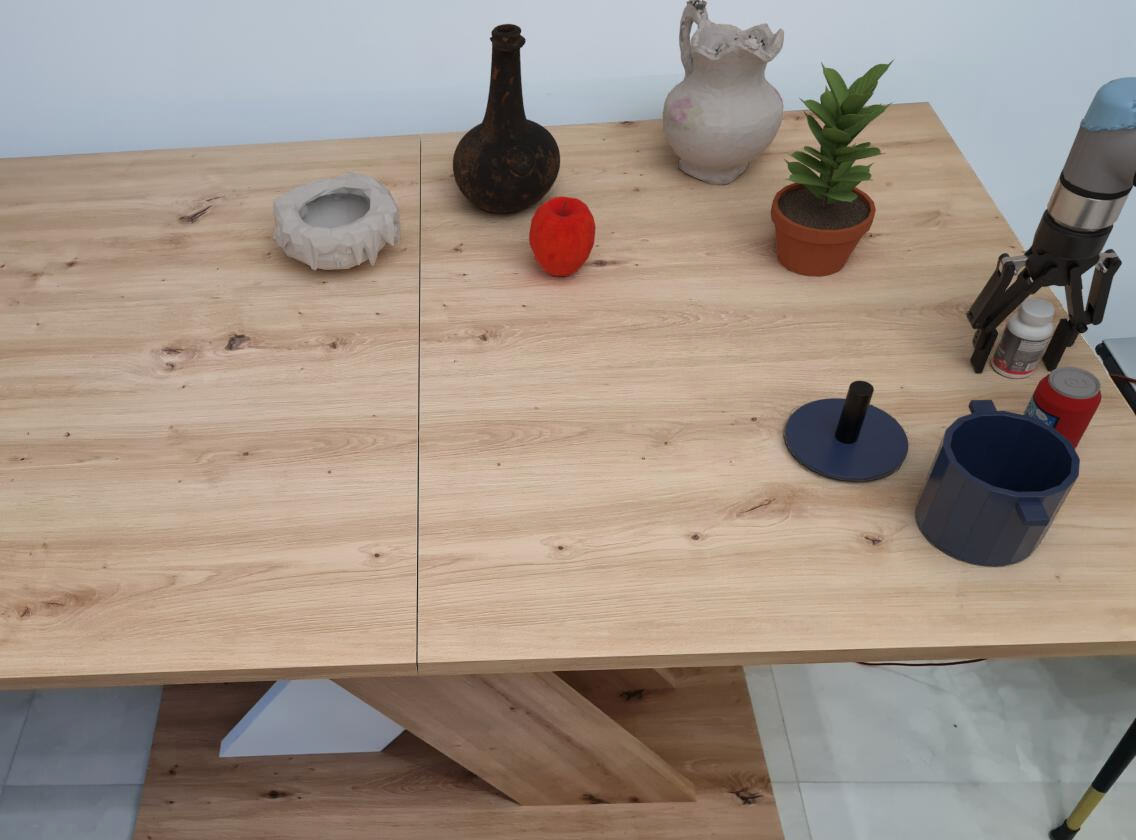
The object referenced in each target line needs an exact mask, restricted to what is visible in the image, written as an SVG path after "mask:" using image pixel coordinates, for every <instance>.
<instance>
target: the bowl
mask: <svg viewBox="0 0 1136 840" xmlns="http://www.w3.org/2000/svg"><path fill="white" fill-rule="evenodd" d="M395 201H396V200H395V199H394V197H393V195H392V193H391V191H390V189H389V188H387V187H386V186H385V185H384V184H382V183H381V182H380V181H379V180H378V179H376V178H375V177H374V176H373V177H372V176H371V175H366V174H362V173H357V172H348V171H347V172H344V173H341V174H339V175H337V176H336V177H327V178H320V179H314V180H312V181H309V182H306V183H304V184H301V185H297V186H295V187H292V188H291V189H290V190H289V191H288V192H286V193H283V194H282V195H279V196H277V197H276V198H274V199H273V204H272V205H273V206H272V213H273V218H274V223H275V228H274V230H273V235H272V239H273V240H275V242H276V246H277V247H279V248H281V250H282V251H283V253H284V254H285V255H286V257H287V258H290V259H295V260H297V261H299V262H301V263H303V264H305V265H308V266H310V268H311V270H313V271H317V269H319V270H324V271H327V270H348V269H351V268H353V267H355V266H360V265H361V264H362V263H364V262H366V261H369V264H370V266H372V267H374V265H375V263H376V260H377V258H378V253H379V252H380V251H381V250H382V249H383V248H384V247H385V246H386V245H387V243H388V244H389V245H390V246H391V247H394V246H395V243H397V244H398V245H399V246H400V245H401V218H400V212H399V206H398V204H397V203H396V202H395Z"/></svg>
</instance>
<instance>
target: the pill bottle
mask: <svg viewBox="0 0 1136 840" xmlns="http://www.w3.org/2000/svg"><path fill="white" fill-rule="evenodd" d="M1055 312H1056V308H1055V306H1054V304H1052V303H1051V302H1050V301H1048V300H1045V299H1043V298H1038V297H1032V298H1026V299H1025V300H1024V301H1023V302H1022V303H1021V304H1020V305H1019V307H1018V309H1017V312H1015V313H1012V315H1011V316H1010V317H1009V318H1008V320H1007V322H1006V324H1005V327H1004V329H1003V331H1002V334H1001V336H1000V339H999V341H998V343H997V346H996V348H995V350H994V352H993V354H992V357H991V360H990V361H991V366H992V369H994V370H995V372H997V373H998V374H1000V375H1001V376H1003V377H1006V378H1009V379H1024V378H1027V377H1029V376H1031V375H1033V373H1034V372H1035V370H1036V368H1037V367H1038V364H1039V362H1040V360H1041V359H1042V357H1043V355H1044V352H1045V350H1046V348H1047V346H1048V344H1049V342H1050V340H1051V338H1052V336H1053V333H1054V323H1053V321H1052V320H1053V318H1054V316H1055Z"/></svg>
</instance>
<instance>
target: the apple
mask: <svg viewBox="0 0 1136 840" xmlns="http://www.w3.org/2000/svg"><path fill="white" fill-rule="evenodd" d="M596 227H597V226H596V222H595V219H594V216H593V213H592V212H591V210H590V208H589V206H588V204H586V203H585V202H583V201H582V200H581V199H579V198H575V197H569V196H555V197H553V198H550V199H549V200H546V201H545V202H544V203H542V204H541V205H540V206H538V207H537V208H536V210H535V211H534V213H533V216H532V218H531V222H530V226H529V233H528V242H529V247H530V249H531V252H532V254H533V256H534V258H535V260H536V263H538V264H539V266H540V267H541V268H542V269H543V270H544V271H545V272H546V273H547V274H549V275H551V276H555V277H567V276H568V277H569V276H571V275H573V274H575V273H577V272H578V271H579V270H580V269H581V268H582V266H584V264H585V263H586V262H587V261H588V259H589V257H590V256H591V253H592V250H593V248H594V246H595V238H596Z"/></svg>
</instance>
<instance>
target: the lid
mask: <svg viewBox="0 0 1136 840" xmlns="http://www.w3.org/2000/svg"><path fill="white" fill-rule="evenodd" d="M874 391H875V388H874V386H873V384H871V383H870V382H868V381H865V380H854V381H852V382H850V384H849V386H848V390H847V393H846V396H845V398H842V397H832V398H822V399H816V400H813V401H809V402H807V403H805V404H803V405H801V406H800V407H798V408H797V409H795V410H794V411H793V412H792V413H791V414H790V416H789V418H788V419H787V421H786V424H785V428H784V429H785V430H784V439H785V443H786V446H787V448H788V449H789V452H790V453H791V454H792V455H793V457H795V459H796V460H798V462H800V464H802V465H804V466H805V467H806V468H808V469H809V470H812V471H813V472H816V473H818V474H820V475H823V476H825V477H829V478H832V479H836V480H840V481H849V482H867V481H873V480H877V479H881V478H883V477H886V476H889V475H890V474H892V473H893V472H895V471H896V470H898V469H899V468H900V467H901V466H902V464H903V463H904V462H905V460H906V458H907V455H908V452H909V440H908V439H909V438H908V436H907V433H906V431H905V429H904V428H903V426H902V425H901V424H900V423H899V422H898V421H897V419H895V418H894V417H893V416H892V415H890V413H888V412H886V411H884V410H883V409H881V408H880V407H877V406H875V405H872V404H870V403H871V401H872V398H873V394H874Z"/></svg>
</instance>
